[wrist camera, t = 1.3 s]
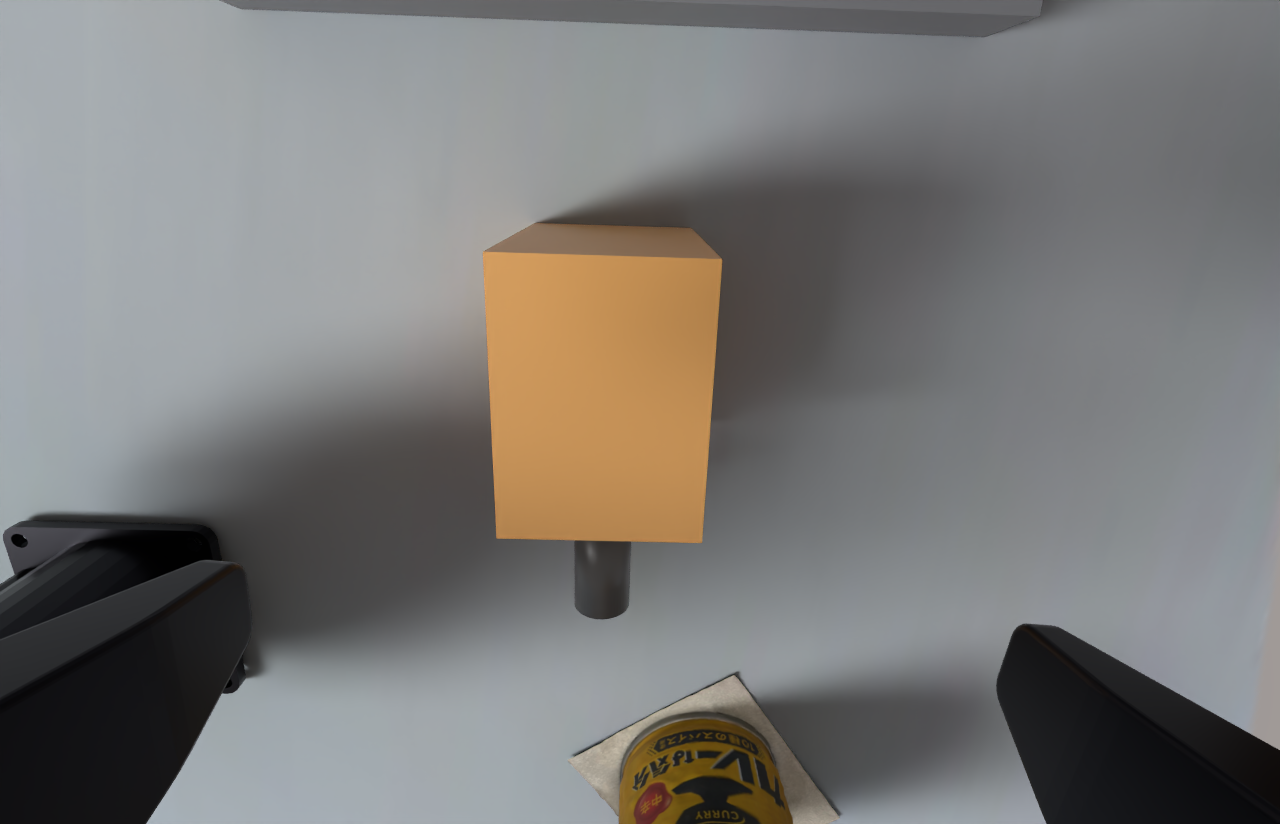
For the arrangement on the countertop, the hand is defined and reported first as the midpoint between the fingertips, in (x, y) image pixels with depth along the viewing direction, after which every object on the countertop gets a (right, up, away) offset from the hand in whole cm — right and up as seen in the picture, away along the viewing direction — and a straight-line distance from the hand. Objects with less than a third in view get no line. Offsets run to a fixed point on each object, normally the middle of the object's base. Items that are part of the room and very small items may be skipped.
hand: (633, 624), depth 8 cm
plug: (-1, +4, +13) cm, 13 cm away
